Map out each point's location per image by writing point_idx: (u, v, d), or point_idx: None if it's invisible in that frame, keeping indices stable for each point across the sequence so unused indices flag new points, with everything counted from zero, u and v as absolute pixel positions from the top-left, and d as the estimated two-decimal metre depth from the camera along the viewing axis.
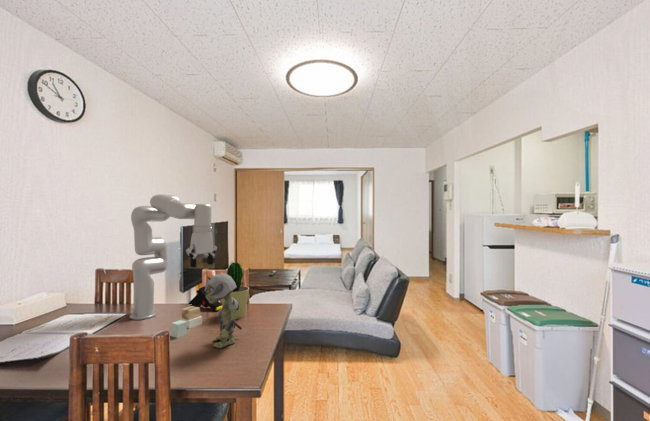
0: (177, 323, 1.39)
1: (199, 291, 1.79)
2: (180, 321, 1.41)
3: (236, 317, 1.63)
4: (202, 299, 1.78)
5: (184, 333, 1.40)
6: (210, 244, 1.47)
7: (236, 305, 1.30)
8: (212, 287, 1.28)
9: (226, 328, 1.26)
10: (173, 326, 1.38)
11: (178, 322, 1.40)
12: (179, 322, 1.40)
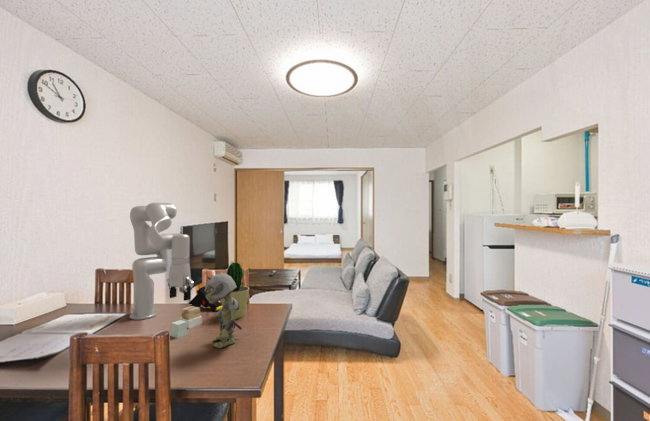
0: (177, 323, 1.39)
1: (199, 291, 1.79)
2: (180, 321, 1.41)
3: (236, 317, 1.63)
4: (202, 299, 1.78)
5: (184, 333, 1.40)
6: None
7: (236, 305, 1.30)
8: (212, 287, 1.28)
9: (226, 328, 1.26)
10: (173, 326, 1.38)
11: (178, 322, 1.40)
12: (179, 322, 1.40)
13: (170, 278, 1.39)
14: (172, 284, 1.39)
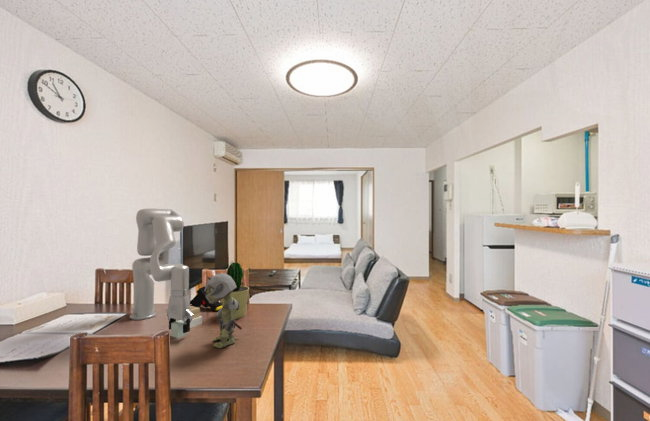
0: (177, 323, 1.39)
1: (199, 291, 1.79)
2: (180, 321, 1.41)
3: (236, 317, 1.63)
4: (202, 299, 1.78)
5: (184, 333, 1.40)
6: None
7: (236, 305, 1.30)
8: (212, 287, 1.28)
9: (226, 328, 1.26)
10: (173, 326, 1.38)
11: (178, 322, 1.40)
12: (179, 322, 1.40)
13: (169, 310, 1.39)
14: (171, 316, 1.38)
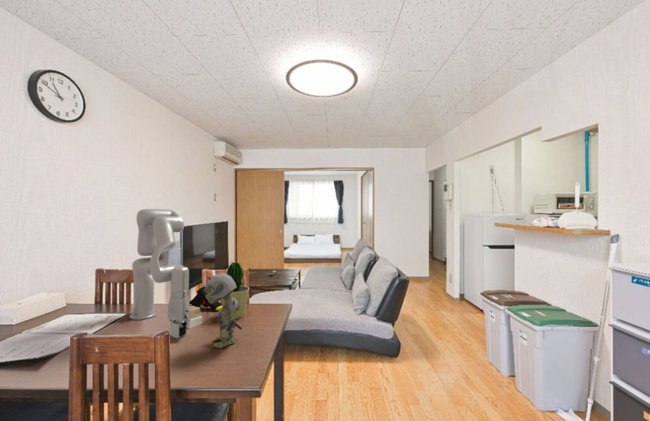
0: (177, 322, 1.39)
1: (199, 291, 1.79)
2: None
3: (236, 317, 1.63)
4: (202, 299, 1.78)
5: None
6: None
7: (236, 305, 1.30)
8: (212, 287, 1.28)
9: (226, 328, 1.26)
10: (173, 326, 1.38)
11: (178, 322, 1.40)
12: (179, 322, 1.40)
13: (169, 311, 1.39)
14: (171, 318, 1.38)
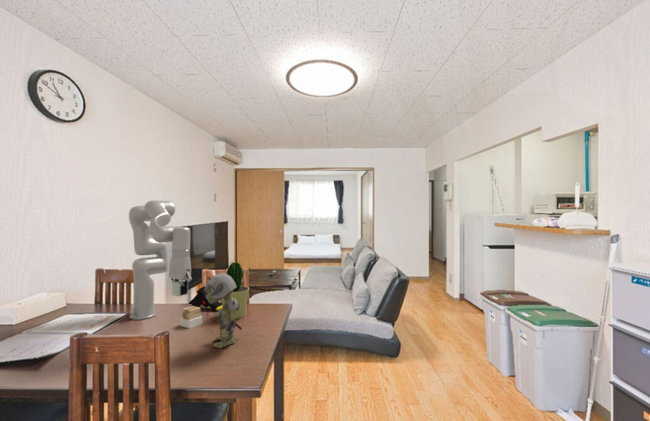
0: (178, 282, 1.40)
1: (199, 291, 1.79)
2: None
3: (236, 317, 1.63)
4: (202, 299, 1.78)
5: None
6: None
7: (236, 305, 1.30)
8: (212, 287, 1.28)
9: (226, 328, 1.26)
10: (174, 285, 1.39)
11: (179, 281, 1.41)
12: (180, 281, 1.41)
13: (171, 270, 1.40)
14: (172, 277, 1.39)
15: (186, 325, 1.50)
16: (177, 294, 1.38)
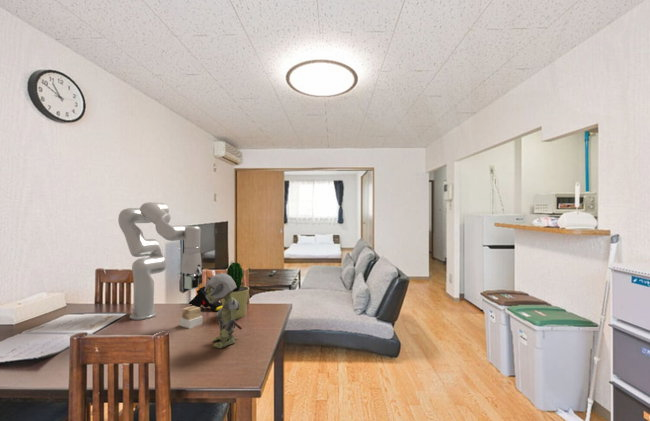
0: (190, 276, 1.53)
1: (199, 291, 1.79)
2: (192, 275, 1.55)
3: (236, 317, 1.63)
4: (202, 299, 1.78)
5: None
6: None
7: (236, 305, 1.30)
8: (212, 287, 1.28)
9: (226, 328, 1.26)
10: (186, 279, 1.53)
11: (191, 276, 1.54)
12: (191, 276, 1.54)
13: (183, 266, 1.53)
14: (184, 271, 1.53)
15: (186, 325, 1.50)
16: (189, 287, 1.52)
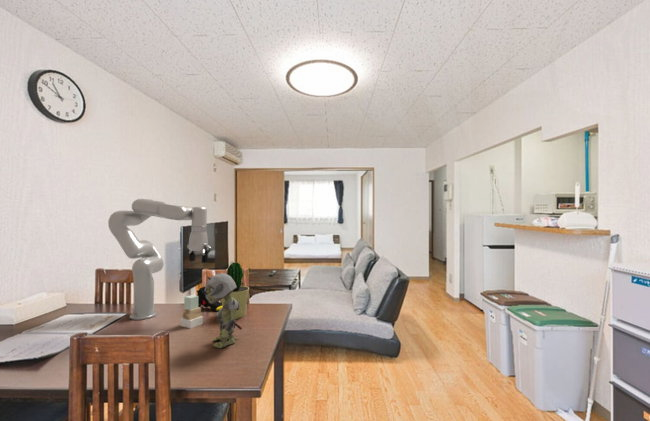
0: (189, 296, 1.53)
1: (199, 291, 1.79)
2: (192, 295, 1.55)
3: (236, 317, 1.63)
4: (202, 299, 1.78)
5: (196, 306, 1.54)
6: None
7: (236, 305, 1.30)
8: (212, 287, 1.28)
9: (226, 328, 1.26)
10: (186, 299, 1.52)
11: (191, 296, 1.54)
12: (191, 296, 1.54)
13: (190, 244, 1.63)
14: (192, 249, 1.62)
15: (187, 325, 1.50)
16: (189, 308, 1.51)
